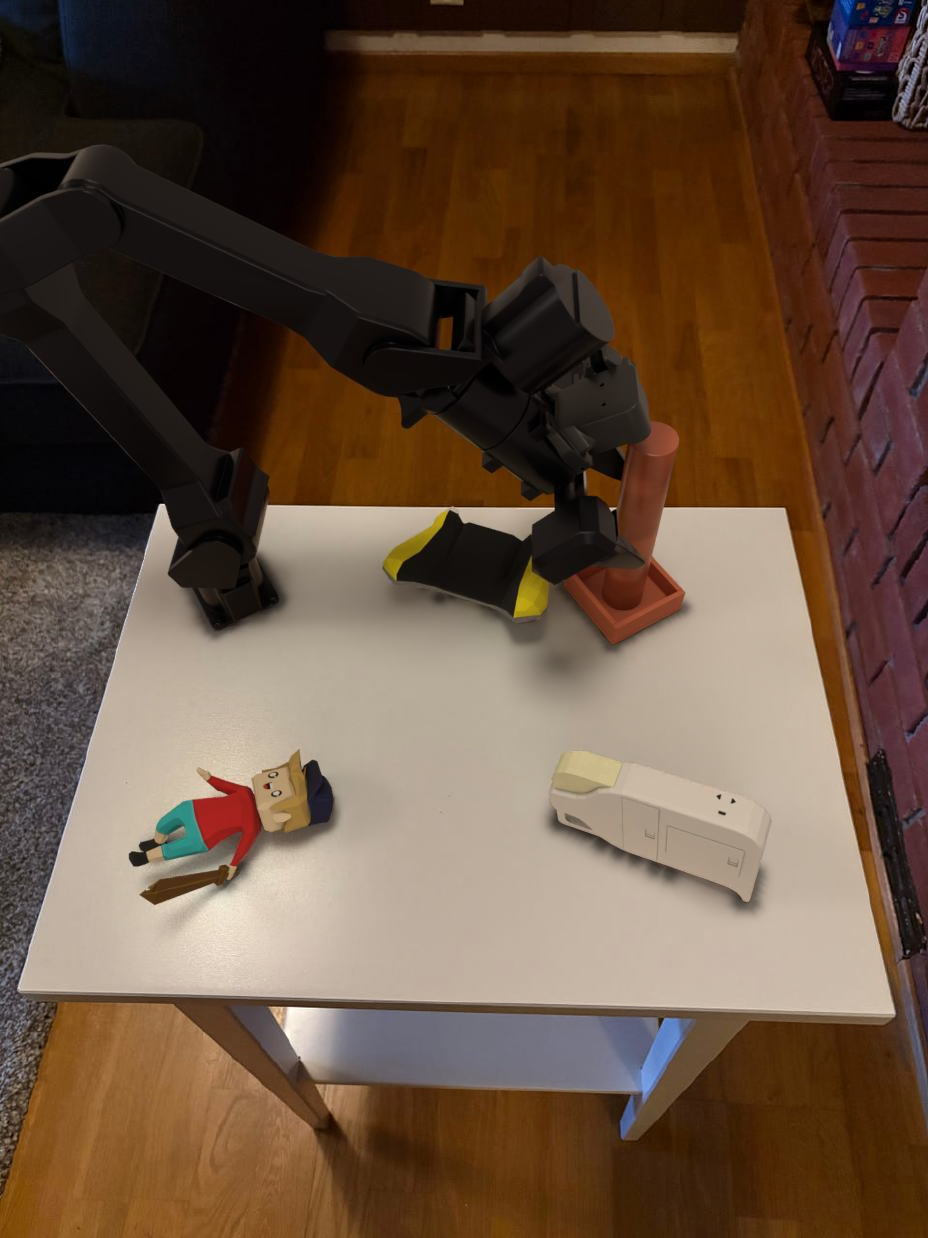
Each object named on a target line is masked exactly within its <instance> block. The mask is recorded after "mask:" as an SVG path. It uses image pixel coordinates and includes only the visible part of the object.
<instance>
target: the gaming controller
mask: <svg viewBox="0 0 928 1238" xmlns="http://www.w3.org/2000/svg"><path fill="white" fill-rule="evenodd" d="M459 511H460V510H459V508H457V507H455V506H453V505H452V506H450V507H448V508H446V509H445V510H444V511H442V512H440V513H439V514H438V515H436V517H435V519H434V521H433V523H432V524H431V525H430V526H429V527H427V528H425V529H423V530H422V531H420V532H419V533H416V534H415V535H413V536H411V537H410V538H408V539H406V540H405V541H403V542H401V543H400V544H397V545H396V546H394V547H393V548H392V549H391V551H389V552H388V553H387V555H386V557H385V558H384V560H383V562H382V570H383V572H384V573H385V575H386V577H387V578H388V579H389V581H390V582H391V583H392V584H394V585H396V586H403V587H410V588H418V589H427V590H431V591H435V592H439V593H443V594H446V595H450V596H452V597H456V598H459V599H462V600H465V601H468V602H471V603H475V604H477V605H480V606H485V607H487V608H490V609H493V610H495V611H497V612H500V613H501V614H503V615H504V616H505V617H507V619H509V620H510V621H511V622H513V623H517V624H521V623H526V622H531V621H535V620H540V619H542V618H543V617H544V616H545V615H546V614H547V613H548V607H549V593H550V583H548V582H547V581H545V580H544V579H542V578H541V577H539V576H538V575H536V574H535V573H533V572H532V547H531V533H530V534H528V535H527V537H525V538H524V539H520V538H519V537H517V536H516V535H514V534H511V533H508V532H504V531H502V530H497V529H495V528H492V527H487V526H485V525H480V524H477V523H474V522H470V521H468V522H464V521H463V520H462V519H461V516H460V513H459Z"/></svg>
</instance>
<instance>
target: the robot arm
mask: <svg viewBox="0 0 928 1238" xmlns="http://www.w3.org/2000/svg"><path fill="white" fill-rule="evenodd" d="M106 250H110V251H112V252H115V253H117V254H119V255H121V256H123V257H126V258H128V259H131V260H133V261H135V262H137V263H139V264H142V265H144V266H147V267H149V268H151V269H153V270H155V271H157V272H160V273H162V274H164V275H167V276H169V277H171V278H173V279H176V280H178V281H181V282H182V283H185V284H187V285H190V286H192V287H193V288H197V289H198V290H201V291H203V292H205V293H208V294H210V295H212V296H214V297H216V298H218V299H221V300H224V301H226V302H228V303H230V304H233V305H235V306H237V307H239V308H242V309H243V310H246V311H248V312H250V313H253V314H255V315H258V316H260V317H262V318H264V319H267V320H269V321H271V322H273V323H276V324H278V325H281V326H283V327H285V328H287V329H289V330H291V331H292V332H293V333H295V334H297V335H299V336H300V337H302V338H304V339H305V341H307V343H309V345H310V346H311V347H312V348H313V349H314V350H315V351H316V353H318V355H319V356H320V357H321V358H322V359H323V360H324V361H325V363H326V364H327V365H328V366H329V367H330V368H332V369H333V370H335V371H336V372H338V373H339V374H341V375H343V376H345V377H346V378H347V379H350V380H351V381H353V382H355V383H356V384H358V385H360V386H361V387H363V388H364V389H366V390H368V391H370V392H372V393H374V394H376V395H379V396H383V397H386V398H393V399H395V398H396V399H397V400H398V403H399V407H400V416H401V417H400V426H401V427H402V429H404V430H410V429H411V428H413V427H414V426H416V424H418V422H420V421H421V420H423V419H424V418H425V417H426V416H427V415H429V414H430V415H431V416H433V417H434V418H435V419H436V420H438V421H439V422H441V423H442V424H444V425H445V426H446V427H448V428H449V429H451V430H452V431H453V432H454V433H456V434H457V435H458V436H460V437H461V438H463V439H464V440H465V441H467V442H468V443H469V444H470V445H472V446H473V447H475V448H476V449H477V450H479V451H480V452H481V467H482V469H485V471H487V472H488V473H490V474H491V475H492V474H495V472H497V471H498V470H500V469H501V468H502V467H503V468H504V469H505V470H506V471H507V472H509V473H510V474H512V476H514V477H516V478H517V479H518V480H520V496H522V497H523V498H525V499H526V500H527V501H529V502H532V501H533V500H535V499H536V498H538V497H539V496H541V495H543V494H544V495H546V496H550V495H553V501H554V502H553V504H554V505H553V506H554V510H553V511H551V512H550V513H548V514H546V515H545V516H542V518H540V519H538V520H536V521H535V522H533V523H532V524H531V533H530V534H531V547H532V572H533V573H535V574H536V575H538V576H539V577H541V578H542V579H544V580H545V581H547V582H548V583H549V585H552V586H557V585H559V584H561V583H562V582H565V580H566V579H568V578H570V577H572V576H573V575H575V574H577V573H579V572H581V571H582V570H584V569H586V568H588V567H608V568H623V569H637V568H639V567H641V566H643V565H644V564H645V559H644V558H643V557H642V555H641V554H640V553H639V552H638V551H637V550H636V549H635V548H634V547H633V546H632V545H631V544H630V543H629V542H628V541H627V540H626V539H625V538H624V537H623V536H622V535H621V534H620V533H619V530H618V519H617V510H616V508H615V509H613V510H611V508H610V507H609V505H608V503H607V502H606V501H604V500H603V499H602V498H601V497H600V496H598V495H588V483H587V482H588V481H587V471H588V470H589V469H591V470H593V471H595V472H597V473H599V474H602V475H604V476H606V477H609V478H611V479H613V480H616V481H619V482H621V479H622V473H623V468H624V462H625V456H626V454H625V453H624V451H623V450H622V448H621V447H623V446H627V444H636V443H639V442H642V441H643V440H645V439H646V438H647V437H648V436H649V435H650V433H651V422H650V421H651V418H650V409H649V401H648V399H649V398H648V397H647V394H646V392H645V389H644V387H643V385H642V382H641V379H640V378H639V375H638V374H639V373H638V367H637V363H636V362H635V361H633V360H630V358H629V356H628V355H627V356H623V355H622V353H621V352H619V351H618V350H616V349H615V348H614V347H612V346H611V345H609V343H611V341H613V339H614V338H615V332H616V331H615V330H616V329H615V325H614V321H613V317H612V315H611V313H610V310H609V309H608V308H609V307H608V306H607V304H606V303H605V301H604V299H603V297H602V295H601V294H600V293H599V291H598V289H597V288H596V287H595V286H594V285H593V283H592V282H591V281H590V279H589V278H588V277H587V276H586V275H585V274H584V273H583V272H582V271H580V269H576V270H574V269H573V268H572V267H570V266H568V265H566V264H563V263H557V264H555V265H554V266H553V265H552V264H551V263H550V261H548V260H547V259H546V258H545V257H544V256H537V257H536V258H535V259H534V260H532V262H531V263H530V264H528V265H527V266H526V267H525V268H524V269H523V270H522V272H521V273H520V275H519V276H518V277H517V279H515V280H514V281H513V282H512V283H511V284H510V285H509V286H507V287H506V288H505V289H504V290H503V291H502V292H500V294H498V295H497V296H496V297H495V298H493V299H492V301H490V302H488V288H487V286H485V285H484V284H477V283H469V282H461V281H453V280H445V279H437V278H431V277H426V276H425V275H423V274H422V273H420V272H418V271H416V270H413V269H410V268H407V267H404V266H400V265H397V264H394V263H391V262H389V261H388V262H387V261H385V260H381V259H378V258H375V257H373V256H367V255H366V256H363V255H362V256H333V255H329V254H326V253H323V252H320V251H316V250H314V249H312V248H310V247H308V246H306V245H304V244H301V243H300V242H298V241H295V240H293V239H291V238H289V237H287V236H285V235H283V234H280V233H279V232H277V231H274V230H273V229H271V228H269V227H267V226H264V225H262V224H260V223H258V222H256V221H254V220H252V219H250V218H248V217H245V216H243V215H241V214H239V213H237V212H235V211H233V210H231V209H229V208H227V207H225V206H223V205H220V204H219V203H216V202H214V201H212V200H210V199H208V198H206V197H204V196H202V195H199V194H198V193H196V192H193V191H192V190H189V189H187V188H185V187H183V186H181V185H179V184H177V183H174V182H173V181H171V180H169V179H166V178H164V177H162V176H160V175H158V174H156V173H154V172H152V171H150V170H148V169H146V168H143V167H142V166H139V165H137V164H136V162H135V161H134V160H133V159H132V157H131V156H130V155H129V154H127V153H126V152H124V151H122V150H121V149H120V148H118V147H116V146H113V145H109V144H106V143H105V144H104V143H103V144H94V145H90V146H87V147H84V148H81V149H77V150H75V151H72V152H68V153H63V152H62V153H61V152H59V153H58V152H33V153H29V154H25V155H23V156H20V157H17V158H14V159H11V160H8V161H5V162H2V163H0V336H4V337H7V338H10V339H12V340H16V341H18V342H21V343H22V344H23V345H24V346H26V347H27V349H29V351H30V352H31V353H32V355H34V356H35V357H36V358H37V359H38V360H39V361H40V363H42V364H43V366H45V368H46V369H47V370H48V371H49V372H50V373H51V374H52V375H53V376H54V378H56V379H57V380H58V381H59V382H60V383H61V385H63V387H64V388H65V389H66V390H67V391H68V393H70V394H71V395H72V397H73V398H75V400H76V401H78V403H79V404H80V405H81V406H82V408H84V409H85V410H86V411H87V412H88V413H89V414H90V415H91V417H92V418H93V419H94V420H95V421H96V422H97V423H98V424H99V425H100V426H101V427H102V428H103V429H104V431H105V432H107V433H108V435H109V436H110V437H111V438H112V439H113V440H114V441H115V443H117V444H118V445H119V447H121V449H123V451H124V452H125V453H126V454H127V456H129V457H130V458H131V460H132V461H134V462H135V463H136V465H137V466H138V467H139V468H140V469H141V470H142V471H143V472H144V474H146V475H147V476H148V477H149V479H151V481H153V483H154V484H155V485H156V486H157V487H158V489H159V491H160V493H161V497H162V499H163V503H164V507H165V509H166V513H167V517H168V519H169V520H168V521H169V523H170V527H171V529H172V530H173V532H174V533H175V535H176V536H177V539H176V543H175V546H174V550H173V553H172V555H171V560H170V563H169V566H168V570H167V576H168V577H169V578H170V579H171V580H173V582H175V584H176V585H178V586H179V588H182V589H192V591H193V592H194V595H195V597H196V598H197V601H198V602H199V605H200V606H201V608H202V610H203V612H204V614H205V616H206V618H207V621H208V622H209V624H210V626H211V628H212V629H213V630H214V631H219V630H222V629H224V628H227V627H228V626H231V625H233V624H235V623H237V622H239V621H242V620H244V619H246V618H248V617H250V616H253V615H255V614H257V613H259V612H261V611H263V610H265V609H268V608H270V607H272V606H274V605H276V604H278V603H279V602H280V596H279V593H278V592H277V590H276V588H275V586H274V585H273V584H272V583H273V582H272V581H271V580H270V578H269V576H268V575H267V573H266V571H265V569H264V568H263V566H262V565H261V562H260V561H259V559H258V557H257V553H258V550H259V545H260V541H261V536H262V532H263V528H264V522H265V518H266V514H267V510H268V509H267V508H268V504H269V500H270V493H271V491H270V487H269V486H268V485H269V480H270V475H269V474H267V473H266V472H265V471H264V470H262V469H261V468H260V467H259V466H258V465H257V464H256V462H254V460H253V458H252V456H251V454H250V453H249V451H248V450H247V449H246V448H245V447H238V448H235V450H232V451H228V450H225V449H221V448H218V447H214V446H211V445H209V444H208V443H207V442H206V441H205V440H204V439H203V438H202V437H201V435H200V434H199V433H198V432H197V431H196V429H195V428H194V427H193V426H192V424H191V423H190V422H189V421H188V419H187V418H185V416H184V415H183V414H182V413H181V411H180V410H179V409H178V408H177V406H176V405H175V404H174V403H173V401H171V399H170V397H168V395H167V394H166V393H165V392H164V391H163V389H161V387H160V386H159V385H158V383H156V381H155V380H154V379H153V378H152V376H151V375H150V374H149V372H148V371H147V370H146V369H145V368H144V366H142V364H141V363H140V362H139V361H138V359H137V358H136V357H135V356H134V354H132V352H131V351H130V350H129V348H128V347H127V346H126V345H125V344H124V343H123V341H122V340H121V339H120V338H119V336H118V335H117V334H116V333H115V332H114V330H113V329H112V328H111V327H110V326H109V324H108V323H107V322H106V320H105V319H104V318H103V317H102V315H100V314H99V312H98V311H97V310H96V308H95V307H94V306H93V305H92V303H90V301H89V300H88V299H87V298H86V296H85V294H84V293H83V291H82V289H81V287H80V282H79V280H78V276H77V274H76V270H75V266H74V263H73V262H75V261H77V260H79V259H81V258H83V257H85V256H89V255H93V254H96V253H100V252H103V251H106ZM448 318H452V326H451V327H452V328H451V343H450V346H449V347H447V348H445V349H444V348H440V344H441V332H442V321H443V319H448Z"/></svg>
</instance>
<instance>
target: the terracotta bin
mask: <svg viewBox="0 0 928 1238" xmlns="http://www.w3.org/2000/svg"><path fill="white" fill-rule="evenodd" d="M605 572H606V567H588V568H586V569H584V570H582V571H581V572H579V573H577V574H575V575H573V576H572V577H570V578H568V579H566V580H564V589H565V590H566V591H567V592H568V593H569V595H570V596H572V598H573V599H574V600H575V602H576V603H577V604H578V605H579V607H580V608H581V609H582V610H583V611H584V613H585V614H586V615H587V616H588V617H589V618H590V620H591V621H592V622H593V623H594V624H595V626H596V627H597V628H598V629H599V630H600V632H601V633H602V634H603V635H604V636H605V638H606V639H607V640H608V642H610V644H611V645H612V646H614V645H615V644H618V643H620V642H621V641H623V640H625V639H627V638H629V637H630V636H632V635H634V634H636V633H639V632H640V631H642V630H644V629H645V628H648V627H650V626H651V625H653V624H655V623H657V622H659V621H661V620H662V619H664V618H666V617H668V616H670V615H672V614H673V613H676V612H678V611H680V610H681V608H682V606H683V602H684V600H685V599H684V598H685V596H686V591H685V590H684V589H683V588H682V587H681V586H680V585H679V584H678V583H677V581H676V580H675V579H674V578H673V577H672V576H671V575H670V574H669V573H668V572H667V571H666V570H665V568H663V566H662V565H661V564H660V563H659V562H658V560H656V559H655V557H653V556H652V558H651V562H650V567H649V571H648V575H647V579H646V583H645V588H644V592H643V596H642V600H641V602H640V603H639V605H637V606H636V607H635V608H633V609H630V610H618V609H614V608H612V607H611V606H609V605H608V604H607V603H606V602H605V601H604V599H603V596H602V589H603V583H604V578H605Z"/></svg>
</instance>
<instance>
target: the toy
mask: <svg viewBox="0 0 928 1238" xmlns="http://www.w3.org/2000/svg"><path fill="white" fill-rule="evenodd" d="M300 750H301V749H297V751H295V752H294V753H293V754H292V755H291V756H290V758H289V760H288V761H287V762H284V763H283V764H281V765H279V766H277V767H273V768H268V769H262V770H261V772H260V773H255V774H254V775H253V776H252V777H251V784H252V788H253V789H252V788H251V787H250V786H248V785H243V784H239V783H236V782H232V781H229V780H225V779H223V778H220V777H218V776H214V775H212V773H211V772H210V771H209V770H205V769H204V768H202V767H197V768H196V770H195V771H196V773H197V774H198V775H199V776H200V777H201V778H202V779H203V780H204V781H205V782H206V783H207V784H209V786H211V787H212V788H213V789H215V790H216V791H217V792H220V793H222V794H225V796H215V797H213V796H212V797H204V798H203V797H202V798H194V799H187V800H183V801H181V802H180V803H178V804H177V805H176V806H175V807H173V808H172V809H171V810H170V811H168V812H167V813H166V814H164V815H163V816H161V818H160V819H158V821H157V823H156V826H155V831H154V835H153V838H152V839H148V840H143V841H140V842H139V844H138V848H139V850H140V851H137V850H136V851H134V850H131V851H129V853H128V861H129V862H130V864H131V866H132V867H133V868H138V867H139V868H140V867H141V866H145V865H148V864H149V863H157V862H166V861H172V860H176V859H181V858H186V857H191V856H195V855H199V854H203V853H208V852H209V851H211V850H212V849H213V848H215V847H216V846H217V845H218V844H220V843H221V842H223V841H225V840H227V839H228V838H230V837H232V836H233V835H236V834H238V833H240V832H241V836H240V838H239V841H238V844H237V846H236V848H235V852H234V854H233V856H232V859H231V861H230V863H229V864H228V865H227V864H225V863H224V864H220V865H219V866H218V868H217V869H214V870H208V871H202V872H195V873H189V874H184V875H177V876H171V877H170V876H169V877H164V878H160V879H158V880H156V881H155V882H153V883H152V884H150V885H149V886H148V887H147V889H144V890H143V891H141V893H139V894H138V895H139V896H140V897H142V898H143V899H145V900H146V901H148V902H149V903H151V904H152V905H154V906H156V905H159V904H162V903H164V902H167V901H170V900H172V899H176V898H178V897H182V896H183V895H186V894H189V893H192V892H194V891H198V890H199V889H202V888H205V887H208V886H211V885H213V884H214V885H215V886H216V887H220V886H223V885H225V882H226V880H227V881H230V880H232V878H233V877H235V876H238V875H239V873H240V871H241V870H240V869H239V868H238V865H239V863H240V862H241V861H242V860H243V859H244V858H245V856H246V855H247V854H248V852H249V851H250V849H251V848H252V846H253V844H254V842H255V841H256V839H257V837H258V835H259V834H260V832H261V830H262V827H263V830H264V831H266V832H268V833H274V832H276V831H279V830H280V831H282V832H284V833H285V834H287V833H290V832H292V831H296V830H299V829H302V828H305V827H311V826H315V825H320V824H321V825H322V824H325V823H329V821H330V820H331V817H332V814H333V809H334V802H335V801H334V799H335V798H334V792H333V787H332V785H331V784H330V782H329V781H328V779H327V777H326V776H325V775H323V774H322V772H321V771H322V770H321V767H320V765H319V762H318V760H316V759H311V760H310V761H308V762H307V763H306V764H304V765H303V766H302V760H301V759H302V758H301V751H300ZM182 827H183V828H184V830H185V834H184V836H182V837H179V838H177V839H175V840H173V841H171V842H167V840H168V838H169V837H170V835H171V834H172V833H174V832H175V831H177V830H180V829H181V828H182Z"/></svg>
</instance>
